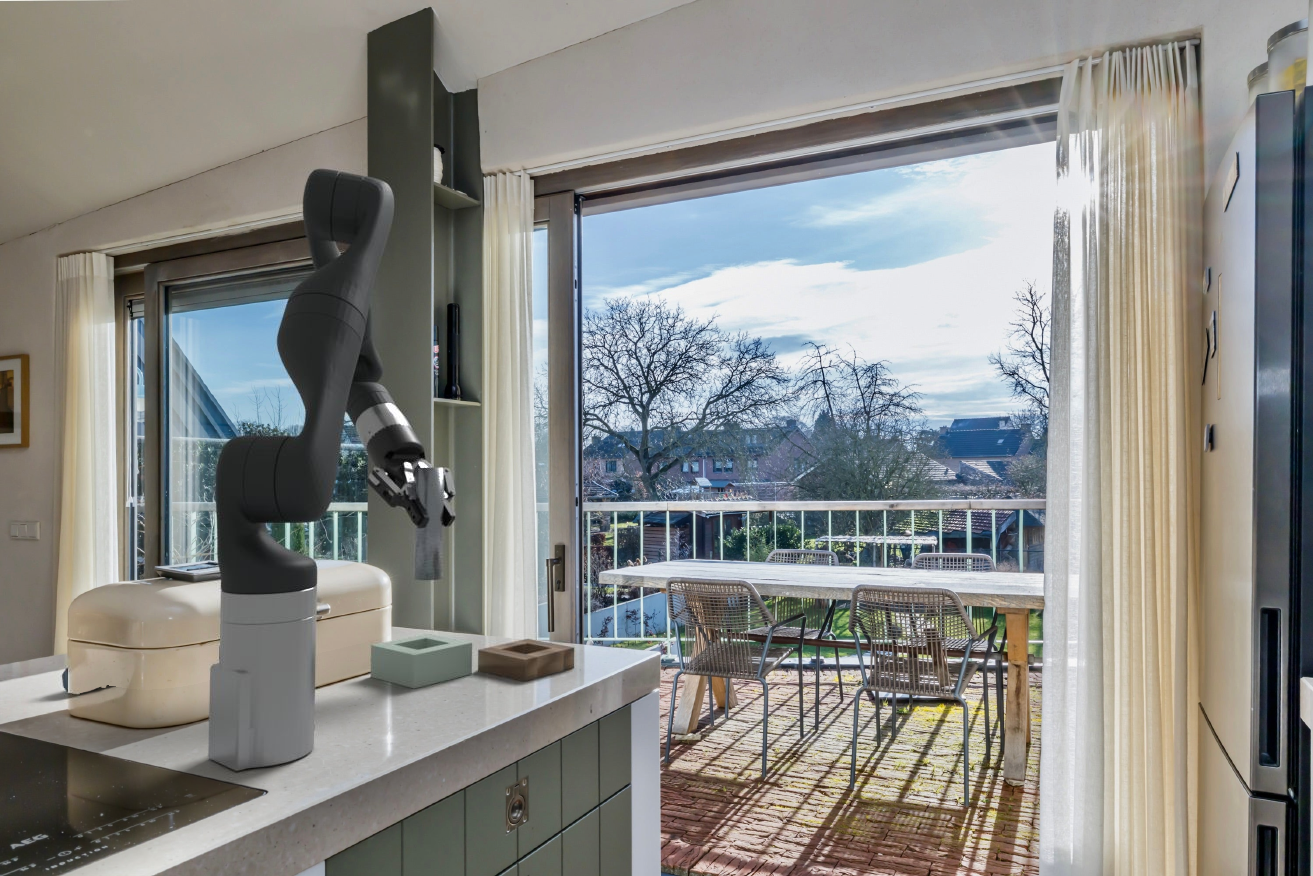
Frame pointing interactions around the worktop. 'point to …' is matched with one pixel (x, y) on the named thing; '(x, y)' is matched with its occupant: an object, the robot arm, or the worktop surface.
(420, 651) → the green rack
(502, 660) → the walnut socket
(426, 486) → the ball
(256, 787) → the worktop surface
